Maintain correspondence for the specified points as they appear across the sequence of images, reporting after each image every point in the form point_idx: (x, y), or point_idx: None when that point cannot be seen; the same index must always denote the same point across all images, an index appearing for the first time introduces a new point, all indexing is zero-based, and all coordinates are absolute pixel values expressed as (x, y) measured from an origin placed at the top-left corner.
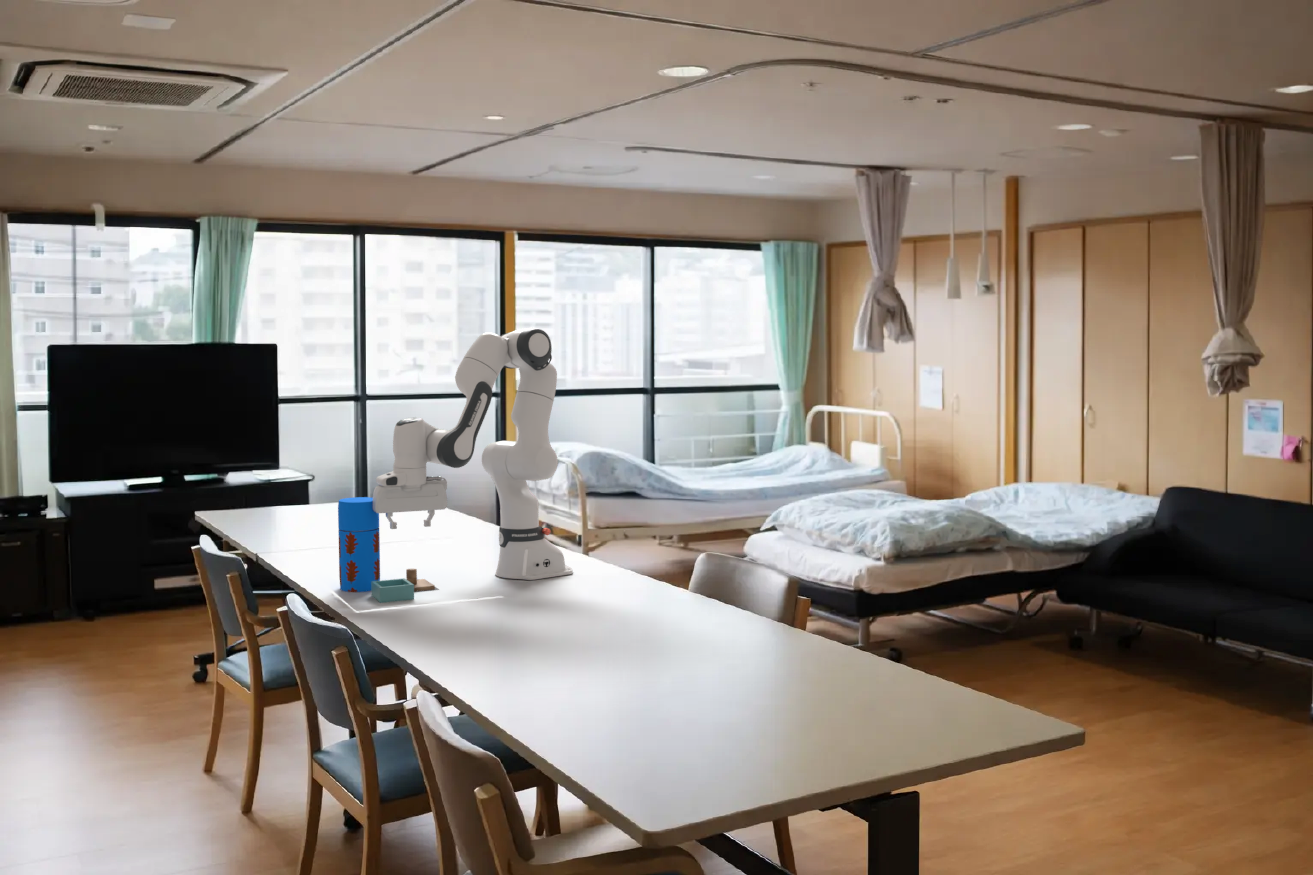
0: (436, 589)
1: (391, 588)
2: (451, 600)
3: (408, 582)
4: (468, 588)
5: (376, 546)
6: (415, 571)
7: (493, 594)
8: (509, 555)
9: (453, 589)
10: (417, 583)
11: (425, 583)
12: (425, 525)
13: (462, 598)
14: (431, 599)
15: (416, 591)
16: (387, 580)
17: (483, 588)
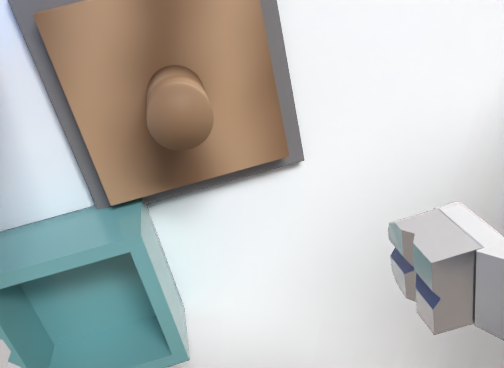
0: (291, 155)
1: None
2: (322, 303)
3: (164, 321)
4: (434, 110)
5: None
6: (204, 137)
7: None
8: None
9: (368, 118)
10: (207, 88)
11: (249, 97)
12: (400, 284)
13: (365, 279)
14: (252, 282)
15: (197, 182)
16: (48, 272)
17: (490, 122)
